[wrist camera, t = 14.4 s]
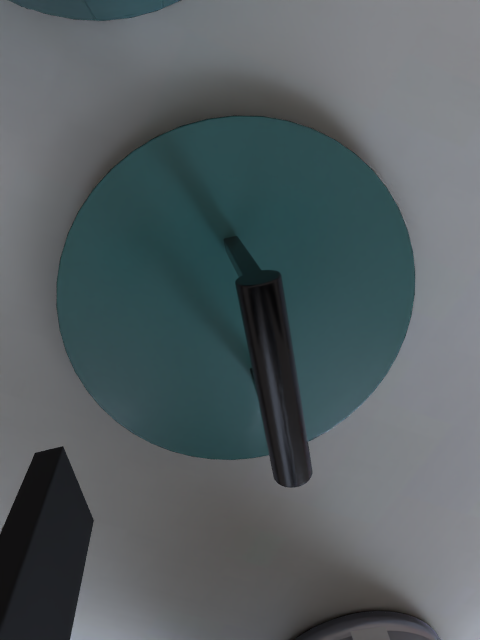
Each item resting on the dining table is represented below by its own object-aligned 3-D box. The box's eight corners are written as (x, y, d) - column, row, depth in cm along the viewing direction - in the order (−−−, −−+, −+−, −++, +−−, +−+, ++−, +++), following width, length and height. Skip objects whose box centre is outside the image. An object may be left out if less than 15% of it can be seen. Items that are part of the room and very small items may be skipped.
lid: (120, 479, 27) (96, 639, 18) (3, 160, 20) (-122, 174, 11) (412, 407, 28) (519, 526, 19) (396, 81, 21) (551, 40, 13)
